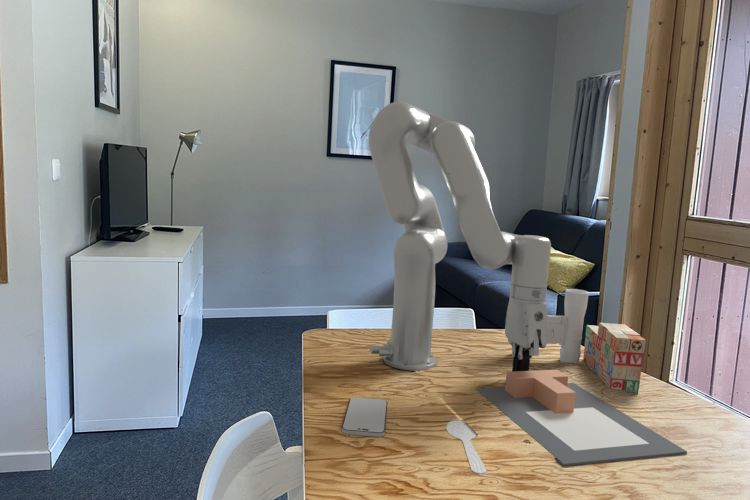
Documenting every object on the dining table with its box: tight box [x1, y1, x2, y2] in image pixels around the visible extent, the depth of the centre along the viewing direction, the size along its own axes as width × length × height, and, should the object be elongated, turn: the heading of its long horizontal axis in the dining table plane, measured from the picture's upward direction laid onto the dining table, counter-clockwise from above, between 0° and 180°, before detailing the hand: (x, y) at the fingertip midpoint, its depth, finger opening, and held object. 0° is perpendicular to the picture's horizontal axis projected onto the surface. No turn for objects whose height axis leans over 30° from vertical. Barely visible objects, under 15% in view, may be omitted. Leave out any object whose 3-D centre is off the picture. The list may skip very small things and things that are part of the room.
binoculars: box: [511, 288, 590, 365], centre depth 138 cm, size 17×5×18 cm, turn 80°
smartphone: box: [341, 397, 388, 438], centre depth 99 cm, size 7×1×15 cm
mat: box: [474, 382, 688, 467], centre depth 104 cm, size 24×31×1 cm
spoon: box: [446, 419, 488, 475], centre depth 91 cm, size 5×18×1 cm, turn 2°
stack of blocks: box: [583, 322, 647, 394], centre depth 129 cm, size 21×6×12 cm, turn 175°
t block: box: [505, 369, 576, 414], centre depth 111 cm, size 12×12×4 cm
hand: (520, 374), depth 121 cm, fingers closed
